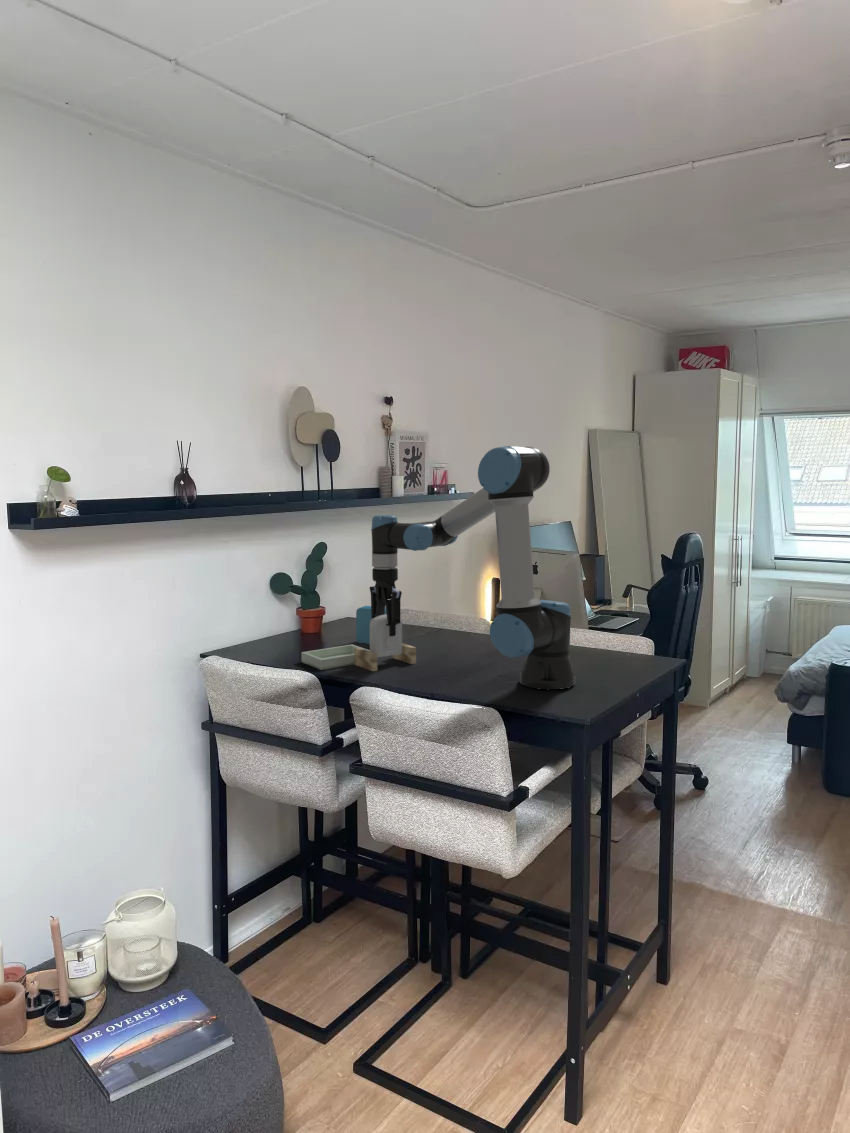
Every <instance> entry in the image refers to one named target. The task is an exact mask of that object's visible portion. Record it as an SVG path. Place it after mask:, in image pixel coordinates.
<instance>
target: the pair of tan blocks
mask: <svg viewBox="0 0 850 1133" xmlns="http://www.w3.org/2000/svg"><path fill="white" fill-rule="evenodd" d="M362 648H363V647H361V648H354V665H353V666H357V667H360V668H361V669H366V670H367V671H371V672H377V671H378V658H377V654H376V653H373V652H370V651H367V650H368V649H367V650H365V649H366V648H364V649H362ZM392 659H394V660H398V661H400V662H404V663H406V664H410V665H416V664H417V647H416V646H413V645H410V644H406V643H403V642H402V654H400V655H392Z"/></svg>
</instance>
